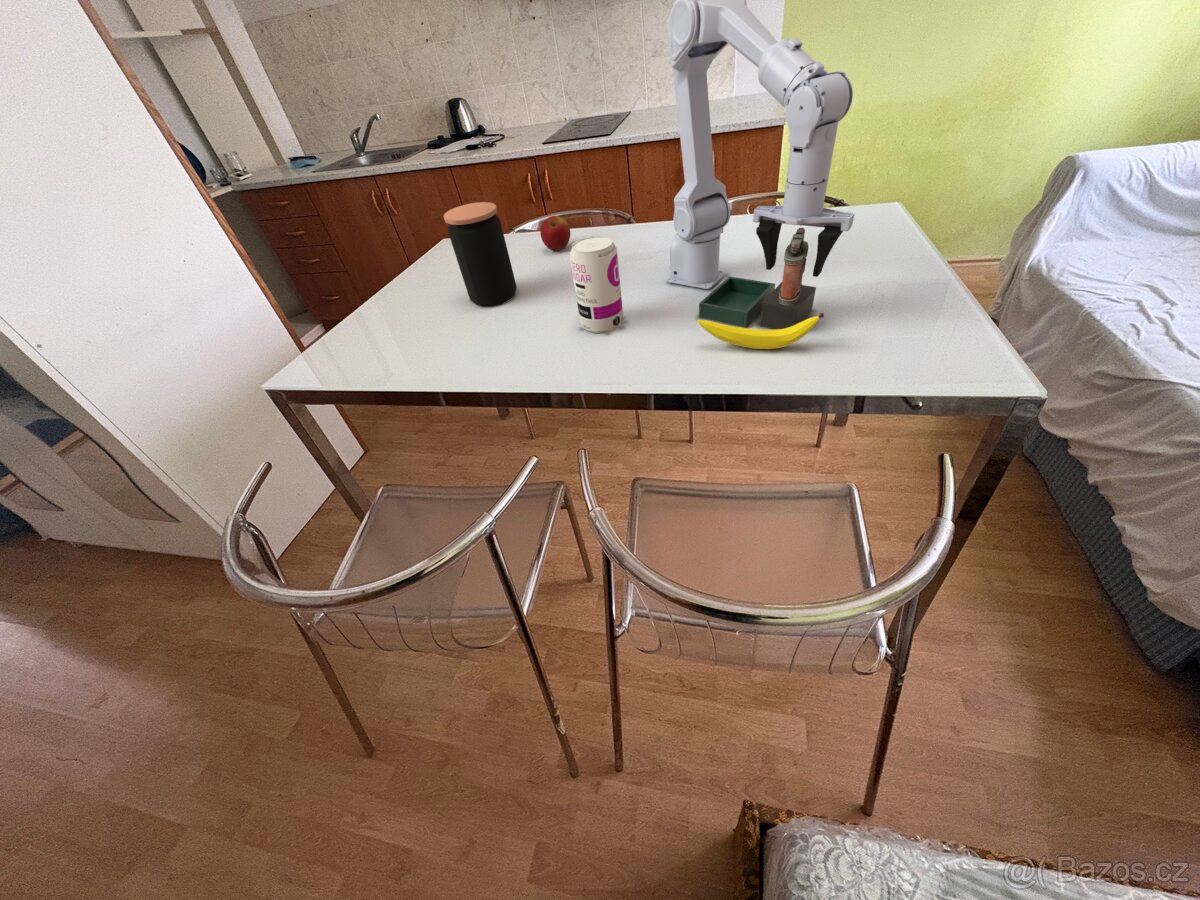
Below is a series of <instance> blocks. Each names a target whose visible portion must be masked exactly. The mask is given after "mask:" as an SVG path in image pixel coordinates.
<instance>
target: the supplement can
mask: <svg viewBox="0 0 1200 900" xmlns="http://www.w3.org/2000/svg"><path fill="white" fill-rule="evenodd" d="M569 260H570V261H569V262H570V269H571V274H572V280H573V285H574V286H573V287H574V292H575V297H576V303H577V304H576V305H577V310H578V317H579V323H580V326H581V327H582V328H583V329H585V330H586V331H587V332H589V333H594V334H605V333H609V332H612V331H614V330H616V329H617V328H619V327H620V325H621V324H623V322H624V309H623V299H622V289H621V278H620V267H619V256H618V248H617V247H616V245H615V243H614V242H613V239H612V238H611V237H608V236H603V235H597V236H596V235H595V236H588V237H584V238H580V239H578V240H577V241H575V242H574V243H572V245H571V250H570V254H569Z"/></svg>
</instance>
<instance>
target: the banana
mask: <svg viewBox="0 0 1200 900" xmlns="http://www.w3.org/2000/svg"><path fill="white" fill-rule="evenodd" d="M824 316H825V313H823V312H821V313H820V314H818V315H816V316H812V317H809V318H806V319H805V320H804V321H802V322H800V323H798V324H796V325H794V326H791V327H788V328H784V329H762V328H760V329H759V328H748V327H741V326H736V325H730V324H724V323H723V324H722V323H720V322H716V321H712V320H708V319H696V323H698V324H699V326H700V327H701V328H702V329H703V330H704V331H706V332H707V333H709V334H710V335H711V336H713V337H714V338H715V339H718V340H720V341H722V342H724V343H727V344H732V345H735V346H739V347H743V348H748V349H758V350H774V349H780V348H784V347H787V346H790V345H792V344H794V343H796V342H798V341H799V340H801V339H802V338H803V337H804V336H806V335H807V334H808V333H810V331H811V330H812V329H813V328H814V327H815V326H816V324H817V323H818V322H819V320H820V319H821V318H824Z"/></svg>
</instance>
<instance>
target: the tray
mask: <svg viewBox="0 0 1200 900" xmlns="http://www.w3.org/2000/svg"><path fill="white" fill-rule="evenodd" d="M775 289H776V283H774V282H767V281H761V280H755V279H750V278H749V279H748V278H742V277H736V276H731V275H730V276H728V277H727V278H725V279H724V280H723V281H722V282H721V283H720V284H719V285H718V286H717V287H715V289H713V290H712V291H711V292H710V293H709V294H708V295H706V296H705V298H703V299H702V300H701V301H700V302H699V303H698V305H699V306H698V318H699V319H703V320H708V321H712V322H717V323H723V324H726V325H731V326H736V327H742V328H748V326H749V325H750V324H751V323H752V322H754V320H755V319H756V317H757V316H758V315H760V314H761V312H762V302H763V301H764V300H765V299H766V298H767V297H768V296H769V295H770V294H771V293H772V292H773V291H774V290H775Z"/></svg>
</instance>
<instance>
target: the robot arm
mask: <svg viewBox="0 0 1200 900" xmlns="http://www.w3.org/2000/svg"><path fill="white" fill-rule="evenodd" d="M747 5H748V4H747V0H675V1H674V2H673V5H672V8H671V10H670V13H669V16H668V17H667V18H668V19H667V21H666V26H667V34H668V35H667V36H668V45H669V55H670V65H671V68H672V74H673V83H674V93H675V101H676V109H677V120H678V129H679V139H680V148H681V149H680V150H681V158H682V159H681V160H682V167H683V169H682V170H683V176H684V177H683V178H684V184H683V186H682V187H681V188H680V189H679V191H678V192H677V193H676V195H675V196H674V199H673V203H674V212H673V219H672V222H673V228H674V230H675V232H676V234H675V235H674V236H673V238H672V240H671V242H670V247H669V273H670V274H669V276H670V278H669V279H668V283H670V284H676V285H681V286H687V287H693V288H698V289H703V290H710V289H712V287H713V286H715V285H716V284H717V283H718V282H719V281H720V280H721V279H723V278H724V277H725V276H726V275H727V272H726V271H724V270H720V269H719V268H720V246H721V234H723V233H724V227H726V226H727V225H728V223H729V222H730V220H731V219H730V218H731V214H732V213H731V205H730V202H729V199H728V195H727V190H726V187H727V186H726V185H725V184H724V183H723V182H721V181H720V180H719V179H717V178H716V177H715V166H714V164H715V163H714V153H713V140H712V139H713V137H712V125H711V113H710V112H711V111H710V101H709V87H708V71H709V68H710V67H711V66H712V63H713V61H714V60H715V59H716V58H717V57H718V56H719V55H720V54H721V53H722V52H723V50H724V49H725V48H726V47H727V46H728V45H730V46H731V47H732V48H733V49H734V50H736V51H737V52H738V53H739V54H741V55H742V56H743V57H745V58H746V59H747V60H748V61H749V62H750V63H752V64H754V66H755V67H757V68H758V72H757V73H758V74H757V77H758V79H757V80H758V82H759V84H760V85H761V87H763V88H764V89H765V90H766V91H767V92H768V93H769V94H770V95H771V96H772V98H774V99H775V100H776V101H777V102H778V103H779V104H780V105H781V106H782V107H783V108H784V116H785V117H784V118H785V123H786V125H787V127H788V143H789V147H790V148H789V149H790V150H789V155H788V156H789V157H788V165H787V172H786V178H785V179H786V180H785V187H784V188H785V189H784V195H783V203H782V205H757V207H756V208H753V215H752V223H756V224H757V223H758V226H757V227H756V228H755V234H756V236H757V237H758V239H759V242H760V244H761V248H762V249H763V255H764V260H765V269H766V270H768V271H771V270H772V269H773V268H774V267H775V266H776V261H777V254H778V245H779V238H780V233H781V230H782V225H783V224H784V225H791V226H803V227H804V226H805V227H815V228H823V229H822V230H821V231H820V232H819V233H818V235H817V247H816V249H817V250H816V258H815V262H814V266H813V270H812V277H815V278H818V277H819V276H820V274H822V271H823V268H824V265H825V264H826V260H827V259H828V257H829V255H830V253H831V252H832V249H833V247H834V246H835V245H836V242H837V241H838V240H839V238H840V237H841V236H842V233H844V232H849V231H850V230H851V228H853V223H854V220H855V212H847V211H840V210H836V209H831V208H827V207H824V205H825V199H826V194H827V189H828V183H829V178H830V172H831V168H832V167H831V166H832V162H833V156H834V155H833V154H834V150H835V144H836V137H837V132H838V127H839V122H840V121H842V119H844V118H845V116H847V114H848V112H849V111H850V109H851V106H852V102H853V98H854V97H853V96H854V90H853V89H854V88H853V84H852V81H851V80H850V78H849V77H848V76H847V73H846V72H845V71H843V70H834V71H830V72H829V71H828V70H825V64H823V62H821V61H818V62H817V61H816V60H815V59H813V58H812V57H811V56H810V55H809V54H808V53H807V52H806V51H805V50H804V49H802V46H803V42H802V41H801V40H800V39H799V38H798V37H796V38H784V39H782V40H779V41H778V40H777V39H776V38H775V37H774V36H773V35H772V34H771V32H770V31H769V30H768V29H767V27H765V26H764V24H763V23H762V22H761V21H760V20H759V19H758V17H757V16H756V15H755V14H754V13H753V12H752V11H751V10H750V8H749V6H747Z"/></svg>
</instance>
